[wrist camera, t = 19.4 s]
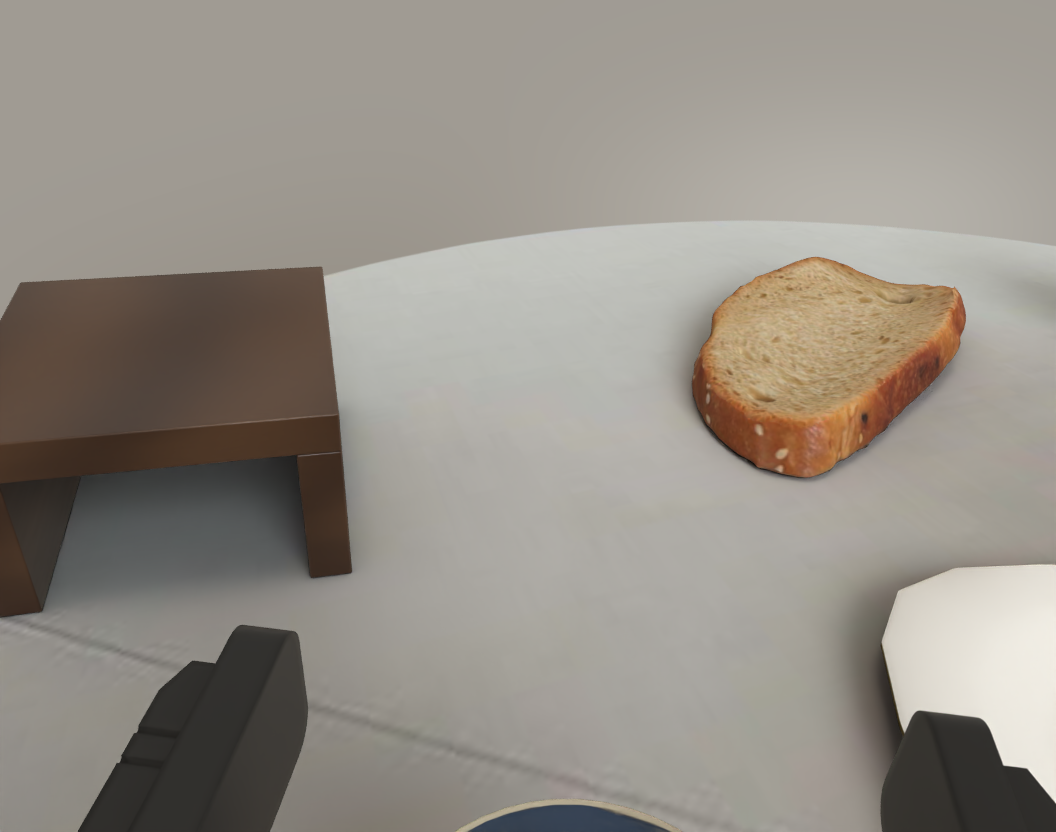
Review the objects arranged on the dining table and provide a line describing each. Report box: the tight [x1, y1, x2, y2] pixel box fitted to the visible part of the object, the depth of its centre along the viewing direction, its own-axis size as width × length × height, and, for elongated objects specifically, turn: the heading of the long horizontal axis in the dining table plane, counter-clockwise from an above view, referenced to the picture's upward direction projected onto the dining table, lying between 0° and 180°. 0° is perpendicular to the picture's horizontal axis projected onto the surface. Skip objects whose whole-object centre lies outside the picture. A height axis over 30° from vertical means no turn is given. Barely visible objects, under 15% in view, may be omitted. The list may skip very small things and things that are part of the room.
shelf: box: [0, 267, 352, 617], centre depth 35 cm, size 12×12×7 cm
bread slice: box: [692, 257, 966, 478], centre depth 47 cm, size 18×18×4 cm
